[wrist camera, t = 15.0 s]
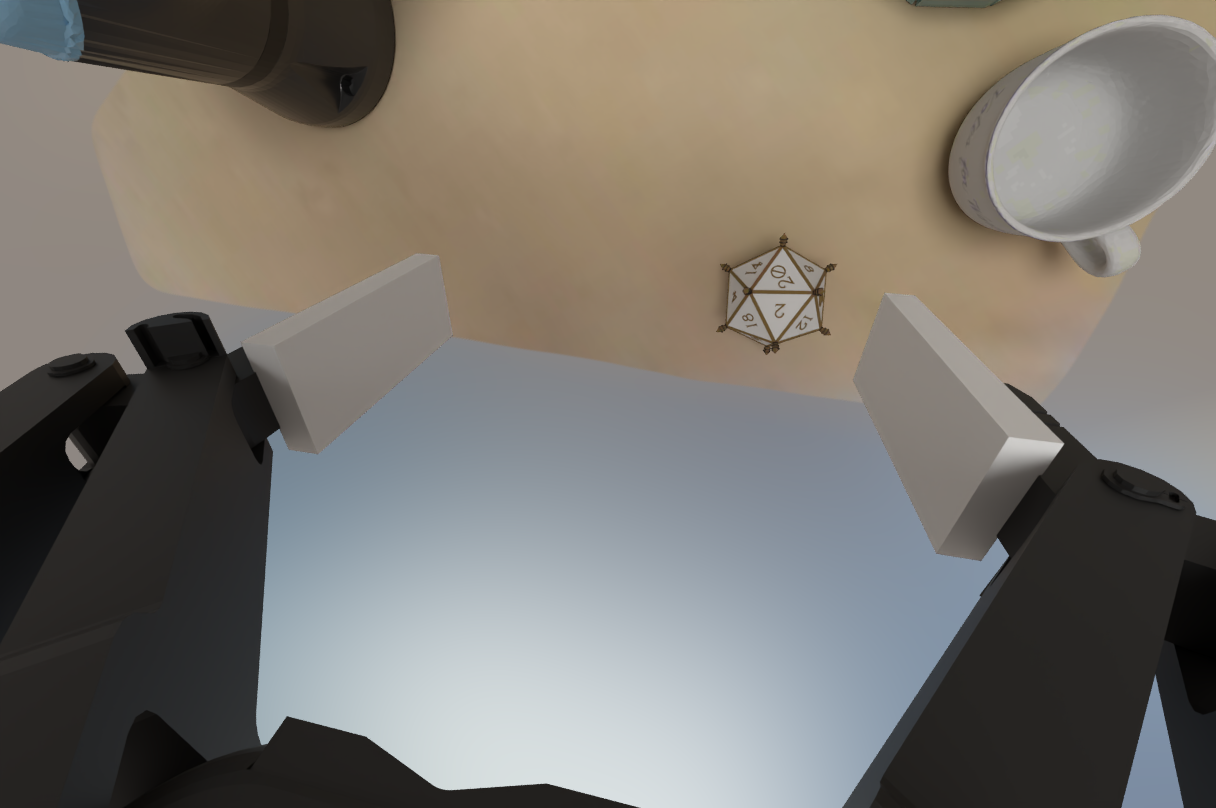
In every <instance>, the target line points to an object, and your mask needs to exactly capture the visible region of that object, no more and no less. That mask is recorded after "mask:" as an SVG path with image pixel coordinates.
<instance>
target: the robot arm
mask: <svg viewBox="0 0 1216 808" xmlns="http://www.w3.org/2000/svg"><path fill="white" fill-rule="evenodd" d="M394 41H395V39H394V21H393V14H392V8H391V3H390V0H0V43H2V44H6V45H10V46H14V47H19V48H23V49H27V50H31V51H35V52H40V53H43V54H44V55H46V56H48V57H51V58H53V59H56V60H63V61H68V62H69V61H74V62H81V63H87V64H93V65H99V66H106V67H112V68H118V69H124V70H130V71H136V72H143V73H149V74H155V75H161V76H167V77H173V78H180V79H186V80H192V81H198V82H204V83H212V84H217V85H223V86H228V87H230V88H232V89H234V90H236V91H238V92H239V93H241V94H243V95H245V96H246V97H248V98H250V99H252V100H253V101H255V102H257V103H259V104H261V105H262V106H264V107H266V108H268V109H269V110H271V111H273V112H275V113H277V114H278V115H280V116H282V117H284V118H287V119H289V120H292V121H295V122H298V123H302V124H307V125H314V126H322V127H341V126H346V125H349V124H352V123H354V122H356V121H358V120H360V119H361V118H363V117H364V116H365V115H366V114H368V113H369V112H370V111H371V110H372V109H373V107H374V106H375V105H376V104H377V102H378V101H379V99H380V98H381V96H382V94H383V92H384V90H385V88H386V85H387V83H388V80H389V76H390V73H391V69H392V64H393V57H394ZM125 332H126V334H127V335H128V337H129V338H130V340H131V342H132V344H133V345H134V347H135V349H136V351H137V352H138V354H139V356H140V357H141V359H142V361H143V362H144V364H145V366H146V367H147V370H146V372H145V374H128V375H126V373H125V371H124V370H123V368H122V367H121V365H120V363H119V362H118V360H117V359H116V357H115V356H114V355H112V354H108V353H90V354H73V355H69V356H64V357H61V358H57V359H55V360H53V361H51V362H50V363H48V364H45V365H43V366H41V367H39V368H37V369H35V370H33V371H31V372H30V373H28V374H27V375H25V376H23V377H22V378H20V379H19V380H17V381H16V382H14V383H13V384H11V385H10V386H8V387H7V388H5V389H4V390H2V391H1V392H0V808H638V807H635V806H631V805H627V804H623V803H619V802H616V801H612V800H608V799H604V798H600V797H596V796H592V795H589V794H585V793H581V792H576V791H573V790H569V789H565V788H562V787H558V786H554V785H550V784H535V785H521V786H505V787H491V788H477V789H464V790H443V789H439V788H437V787H435V786H433V785H432V784H430V783H429V782H428V781H426V780H425V779H423V778H422V777H421V776H419V775H418V774H416V773H415V772H414V771H412V770H411V769H410V768H408V767H407V766H406V765H404V764H403V763H401V762H400V761H399V760H397V759H396V758H395V757H393V756H392V755H390V754H389V753H388V752H386V751H385V750H383V749H382V748H381V747H379V746H378V745H377V744H375V743H374V742H372V741H371V740H370V739H368V738H367V737H365V736H361V735H357V734H353V733H349V732H346V731H342V730H338V729H334V728H330V727H326V726H322V725H319V724H315V723H311V722H307V721H303V720H299V719H295V718H291V717H288V716H287V717H286V719H285V720H284V721H283V723H282V724H281V726H280V727H279V729H278V730H277V731H276V733H275V734H274V736H273V737H272V739H271V740H270V741H269V743H268V744H265V745H261V743H260V740H259V736H258V732H257V726H256V705H257V690H258V674H259V659H260V658H259V657H260V643H261V628H262V612H263V597H264V582H265V566H266V551H267V535H268V518H269V503H270V488H271V473H272V457H273V451H272V448H271V446H270V444H269V442H268V440H267V437H268V436H270V435H271V434H272V433H274V432H275V431H277V430H278V429H280V431H281V433H282V435H283V438H284V440H285V442H286V444H287V447H288V449H289V450H295V451H301V452H307V453H314V454H319V453H320V452H321V451H322V450H323V449H324V448H325V447H327V446H328V445H329V444H330V443H331V442H332V441H334V440H335V439H336V438H337V437H338V436H339V435H340V434H341V433H343V432H344V431H345V430H346V429H347V428H348V427H349V426H351V425H352V424H353V423H354V422H355V421H356V420H357V419H359V418H360V417H361V416H362V415H363V414H364V413H365V412H367V410H369V409H370V408H371V407H372V406H373V405H374V404H376V403H377V402H378V401H379V400H380V399H381V398H382V397H383V396H385V395H386V394H387V393H388V392H389V391H390V390H391V389H393V388H394V387H395V386H396V385H397V384H398V383H399V382H400V381H402V380H403V379H404V378H405V377H406V376H407V375H408V374H410V373H411V372H412V371H413V370H414V369H415V368H416V367H418V366H419V365H420V364H421V363H422V362H423V361H424V360H425V359H427V358H428V357H429V356H430V355H431V354H432V353H433V352H435V351H436V350H437V349H438V348H439V347H440V346H441V345H443V344H444V343H445V342H446V341H447V340H448V339H449V338H450V337H452V336H453V333H452V327H451V321H450V316H449V310H448V304H447V298H446V293H445V287H444V281H443V275H442V270H441V264H440V258H439V255H431V254H419V253H416V254H414V255H412V256H410V257H408V258H406V259H404V260H402V261H400V262H398V263H396V264H394V265H392V266H390V267H388V268H387V269H385V270H383V271H381V272H379V273H377V274H375V275H373V276H371V277H369V278H367V279H365V280H363V281H361V282H359V283H357V284H355V285H353V286H351V287H349V288H347V289H345V290H343V291H341V292H339V293H337V294H335V295H333V296H331V297H329V298H327V299H325V300H323V301H321V302H319V303H317V304H315V305H313V306H311V307H309V308H307V309H305V310H303V311H301V312H299V313H297V314H295V315H293V316H291V317H289V318H288V319H285V320H283V321H282V322H279V323H277V324H275V325H273V326H272V327H269V328H267V329H266V330H264V331H262V332H260V333H258V334H256V335H254V336H252V337H250V338H248V339H246V340H244V341H242V342H241V344H242V347H241V348H239V349H237V350H235V351H233V352H231V353H229V354H227V353H226V351H225V349H224V347H223V345H222V343H221V341H220V339H219V337H218V334H217V332H216V330H215V328H214V326H213V324H212V322H211V320H210V318H209V316H208V315H207V314H204V313H201V312H182V313H173V314H167V315H161V316H157V317H154V318H150V319H146V320H143V321H141V322H139V323H136V324H134V325H132V326H130V327H129V328H128V329H127V330H125ZM853 381H854V383H855V385H856V387H857V390H858V392H859V394H860V396H861V398H862V400H863V402H864V404H865V406H866V408H867V410H868V412H869V415H870V417H871V419H872V420H873V423H874V425H875V427H876V429H877V431H878V433H879V435H880V437H881V439H882V442H883V444H884V446H885V448H886V450H887V452H888V454H889V456H890V458H891V460H892V462H893V464H894V466H895V468H896V471H897V473H898V475H899V477H900V479H901V481H902V483H903V485H904V487H905V489H906V492H907V494H908V496H909V498H910V500H911V502H912V504H913V506H914V508H915V510H916V512H917V514H918V516H919V518H920V521H921V523H922V525H923V527H924V529H925V531H926V533H927V535H928V537H929V539H930V541H931V543H932V545H933V548H934V550H935V552H936V554H941V555H947V556H954V557H960V558H966V559H972V560H979V561H981V560H982V559H983V558H984V556H985V555H986V553H987V552H988V551H989V549H990V548H991V546H992V545H993V544H994V542H995V541H996V539H997V538H998V539H999V540H1000V542H1001V544H1002V545H1003V547H1004V548H1005V550H1006V551H1007V553H1008V554H1009V557H1008V559H1007V560H1006V561H1005V562H1004V564H1003V565H1002V566H1001V568H1000V569H999V570H998V572H997V573H996V574H995V576H994V577H993V578H992V580H991V581H990V582H989V584H988V585H987V586H986V588H985V589H984V590H983V592H982V593H981V594H980V596H981V598H980V599H979V601H978V602H977V604H976V605H975V607H974V609H973V610H972V612H971V613H970V615H969V616H968V618H967V619H966V621H965V622H964V624H963V625H962V627H961V628H960V630H959V631H958V633H957V634H956V636H955V637H954V639H953V640H952V642H951V643H950V645H949V646H948V648H947V650H946V651H945V653H944V654H943V656H942V657H941V659H940V660H939V662H938V663H937V665H936V666H935V668H934V669H933V671H932V673H931V674H930V675H929V677H928V678H927V680H926V681H925V683H924V684H923V686H922V687H921V689H920V691H919V692H918V694H917V695H916V697H915V698H914V700H913V701H912V703H911V704H910V706H909V708H908V709H907V710H906V712H905V713H904V715H903V717H902V718H901V719H900V721H899V722H898V724H897V726H896V727H895V728H894V730H893V732H892V733H891V735H890V736H889V738H888V739H887V741H886V742H885V744H884V745H883V747H882V748H881V750H880V751H879V753H878V754H877V756H876V758H875V759H874V760H873V762H872V763H871V765H870V767H869V768H868V770H867V771H866V773H865V774H864V776H863V777H862V779H861V780H860V782H859V783H858V785H857V786H856V788H855V789H854V791H853V792H852V794H851V795H850V797H849V799H848V800H847V802H846V803H845V805H844V806H843V808H1121V807H1122V802H1123V799H1124V795H1125V791H1126V787H1127V783H1128V779H1129V775H1130V771H1131V767H1132V763H1133V759H1134V755H1135V752H1136V747H1137V744H1138V740H1139V736H1140V732H1141V728H1142V724H1143V720H1144V716H1145V712H1146V708H1147V704H1148V700H1149V696H1150V692H1151V689H1152V685H1153V681H1154V677H1155V674H1156V679H1157V683H1158V688H1159V693H1160V697H1161V702H1162V707H1163V711H1164V716H1165V721H1166V725H1167V730H1168V735H1169V739H1170V744H1171V749H1172V754H1173V758H1174V763H1175V768H1176V772H1177V777H1178V782H1179V786H1180V791H1181V796H1182V801H1183V805H1184V808H1216V520H1212V519H1209V518H1205V517H1201V516H1198V515H1196V511H1195V508H1194V504H1193V503H1192V502H1191V501H1190V500H1189V499H1188V498H1187V497H1186V496H1185V495H1184V494H1183V493H1182V492H1181V491H1180V490H1178V489H1176V488H1175V487H1174V486H1172V485H1170V484H1169V483H1167V482H1166V481H1164V480H1162V479H1160V478H1158V477H1156V476H1154V475H1152V474H1149V473H1147V472H1145V471H1143V470H1140V469H1137V468H1134V467H1131V466H1128V465H1125V464H1122V463H1118V462H1112V461H1107V460H1101V459H1097V458H1096V457H1094V456H1093V455H1092V454H1091V453H1090V452H1089V451H1088V450H1087V449H1086V448H1085V447H1084V446H1083V445H1082V444H1081V443H1080V442H1079V441H1078V440H1077V439H1075V438H1074V437H1073V436H1072V435H1071V434H1070V433H1069V432H1068V431H1067V430H1066V429H1065V428H1064V427H1060V423H1059V422H1057V421H1056V420H1055V419H1054V418H1053V417H1052V416H1051V415H1047V411H1046V410H1045V409H1044V408H1043V407H1042V406H1041V405H1040V404H1038V403H1037V402H1036V401H1035V400H1034V399H1033V398H1032V397H1030V396H1029V395H1027V394H1025V393H1023V392H1022V391H1020V390H1018V389H1017V388H1015V387H1013V386H1011V385H1010V384H1006V383H1003V382H1002V381H1001V380H1000V379H999V378H998V377H997V376H996V375H995V374H993V373H992V372H991V371H990V370H989V369H988V368H987V367H986V366H985V365H984V364H983V363H982V362H981V361H980V360H979V359H978V358H977V357H976V356H975V355H974V354H973V353H972V352H971V351H970V350H969V349H968V348H967V347H966V346H965V345H964V344H963V343H962V342H961V341H960V340H959V339H958V338H957V337H956V336H955V335H954V334H953V333H952V332H951V331H950V330H949V329H948V328H947V327H946V326H945V325H944V324H943V323H942V322H941V321H940V320H939V319H938V318H937V317H936V316H935V315H934V314H933V313H932V312H931V311H930V310H929V309H928V308H927V307H926V306H925V305H924V304H923V303H922V302H921V301H920V300H919V299H918V298H917V297H916V296H915V295H904V294H893V293H884V295H883V298H882V301H881V304H880V306H879V309H878V312H877V315H876V318H875V320H874V323H873V326H872V329H871V331H870V334H869V337H868V340H867V343H866V345H865V348H864V351H863V354H862V356H861V359H860V362H859V365H858V368H857V370H856V373H855V376H854V379H853ZM68 437H69V438H70V440H71V441H72V442H73V444H74V445H75V446H76V447H77V448H78V450H79V451H80V453H81V454H82V455H83V457H84V458H85V459H86V460H87V463H86V465H84V466H83V467H82V469H80V470H78V469H76V468H75V467H74V466H73V465H72V463H71V462H70V461H69V459H68V456H67V454H66V452H65V445H66V440H67V438H68Z"/></svg>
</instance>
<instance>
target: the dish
mask: <svg viewBox="0 0 1216 808" xmlns="http://www.w3.org/2000/svg"><path fill="white" fill-rule="evenodd" d="M906 1H908V2H909V3H910V4H912V3H913V2H914V1H916V0H906ZM1000 1H1002V0H917V2H916V5H915V6H932V7H973V8H985V7H987V6H989V5H990V6H992V5H994V4H996V3H998V2H1000Z"/></svg>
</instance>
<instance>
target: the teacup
mask: <svg viewBox="0 0 1216 808" xmlns="http://www.w3.org/2000/svg"><path fill="white" fill-rule="evenodd" d="M1215 145H1216V39H1215V37H1213V36H1212V35H1211V34H1210V33H1209V32H1207V31H1206V30H1205V29H1204V28H1202V27H1201V26H1199V25H1197V24H1195V23H1194V22H1191V21H1188V20H1185V19H1182V18H1178V17H1173V16H1167V15H1146V16H1136V17H1130V18H1127V19H1124V20H1118V21H1114V22H1111V23H1108V24H1105V25H1103V26H1100V27H1097V28H1095V29H1093V30H1091V31H1088V32H1086V33H1085V34H1082V35H1080V36H1078V37H1076V38H1075V39H1073V40H1071V41H1069V42H1068V43H1066V44H1064V45H1061V46H1059V47H1057V48H1055V49H1052V50H1050V51H1048V52H1046V53H1044V54H1042V55H1040V56H1038V57H1036V58H1034V59H1032V60H1030V61H1028V62H1026V63H1025V64H1023V65H1021V66H1020V67H1018V68H1016V69H1015V70H1013V71H1012V72H1010V73H1009V74H1007V75H1006V76H1005V77H1003V78H1002V79H1001V80H999V81H998V82H997V83H996V84H995V85H993V86H992V87H991V88H990V89H989V90H988V91H987V92H986V93H985V94H984V95H983V96H982V97H981V99H980V100H979V101H978V102H977V103H976V104H975V105H974V107H973V108H972V109H971V111H970V112H969V113H968V115H967V116H966V118H965V120H964V121H963V123H962V125H961V126H960V128H959V131H958V133H957V135H956V137H955V140H954V143H953V146H952V149H951V154H950V158H949V183H950V187H951V191H952V194H953V196H954V199H955V200H956V202H957V204H958V205H959V207H960V208H961V209H962V210H963V212H964V213H965V214H966V215H967V216H968V217H970V218H971V219H972V220H974V221H975V222H977V223H978V224H980V225H983V226H985V227H987V228H990V229H993V230H996V231H1000V232H1004V233H1009V234H1014V235H1022V236H1029V237H1032V238H1035V239H1039V240H1043V241H1050V242H1061V243H1062V245H1063V246H1064V247H1065V249H1066V250H1067V252H1068V253H1069V254H1070V256H1071V257H1072V259H1073V260H1074V261H1075V262H1076V263H1077V264H1078V266H1079V267H1080V268H1082V269H1083V270H1084V271H1086V272H1087V273H1089V274H1091V275H1093V276H1096V277H1110V276H1114V275H1118V274H1120V273H1122V272H1124V271H1126V270H1128V269H1130V268H1131V267H1133V266H1134V265H1135V264H1136V263H1137V262H1138V260H1139V258H1140V255H1141V246H1140V242H1139V239H1138V237H1137V236H1136V234H1135V232H1134V231H1133V230H1132V229H1131V227H1130V226H1129V225H1130V224H1132V223H1134V222H1136V221H1138V220H1140V219H1141V218H1143V217H1145V216H1146V215H1148V214H1149V213H1151V212H1153V211H1154V210H1155V209H1157V208H1158V207H1159V206H1161V205H1162V204H1163V203H1165V202H1166V201H1167V200H1169V199H1170V198H1171V197H1173V196H1174V195H1175V194H1176V193H1177V192H1179V191H1180V190H1181V189H1182V188H1183V187H1184V186H1185V185H1186V184H1187V183H1188V182H1189V181H1190V180H1191V178H1193V177H1194V175H1195V174H1196V173H1197V171H1198V170H1199V169H1200V168H1201V166H1202V165H1203V164H1204V163H1205V161H1206V160H1207V158H1208V157H1209V155H1210V154H1211V152H1212V150H1213V148H1214V147H1215Z"/></svg>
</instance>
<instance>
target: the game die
mask: <svg viewBox="0 0 1216 808" xmlns="http://www.w3.org/2000/svg"><path fill="white" fill-rule="evenodd" d="M787 239H788V238H787V237H786V235H785V233H784V234H783V236H782V237H781V238H780V242H779V243H780V246H778V247H776V248H774V249H772V250H770V251H768V252H766V253H763V254H761V255H759V256H757V257H755V258H753V259H751V260H749V261H746V262H744V263H742V264H740V265H738V266H736V267H734V268H730V267H729V266H728V265H727V263H726V264H720V265H721V267H722V270H725V272H726V271H727V272H729V280H728V295H727V311H726V324H725V325H721V326H719V328H718V329H717V331H716V332H723V331H725V330H726V329H727V328H729V329H731V330H733V331H735V332H737V333H739V334H742V335H744V336H746V337H748V338H750V339H752V340H754V341H756V342H758V343H761V344H763V345H765V347H764V350H763V351H764V352H765V354H766V355H767V354H768V353H769V352H770V349H772V351H773V352H774V353H775V354H776V352H777V351H778V350H779V349H780V348H779V345H778V344H779V343H782V342H785V341H788V340H791V339H794V338H797V337H800V336H803V335H806V334H810V333H813V332H816V331H820V332H821V334H824V335H831V334H830V332H829V329H826V328H823V327H822V320H823V308H824V297H825V285H826V273H827V272H831V270H834V268H835V267H836V265H837V264H830V265H827V267H826V268H822V267H820V266H819V265H817V264H815V263H813V262H812V261H810V260H808V259H807V258H805V257H803V256H801V255H800V254H798V253H796V252H794V251H793V250H791V249H789V248H788V247H786V246H785V245H786V243H787ZM770 346H772V348H770Z"/></svg>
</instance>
